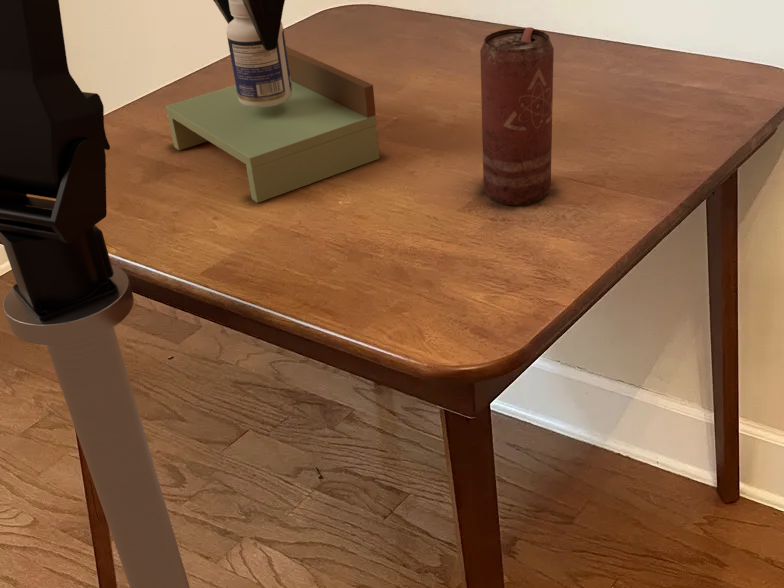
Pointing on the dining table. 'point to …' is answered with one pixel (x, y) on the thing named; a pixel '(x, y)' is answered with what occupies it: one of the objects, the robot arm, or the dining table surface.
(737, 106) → the dining table surface
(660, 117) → the dining table surface
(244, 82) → the pill bottle
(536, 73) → the can
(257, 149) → the shelf
